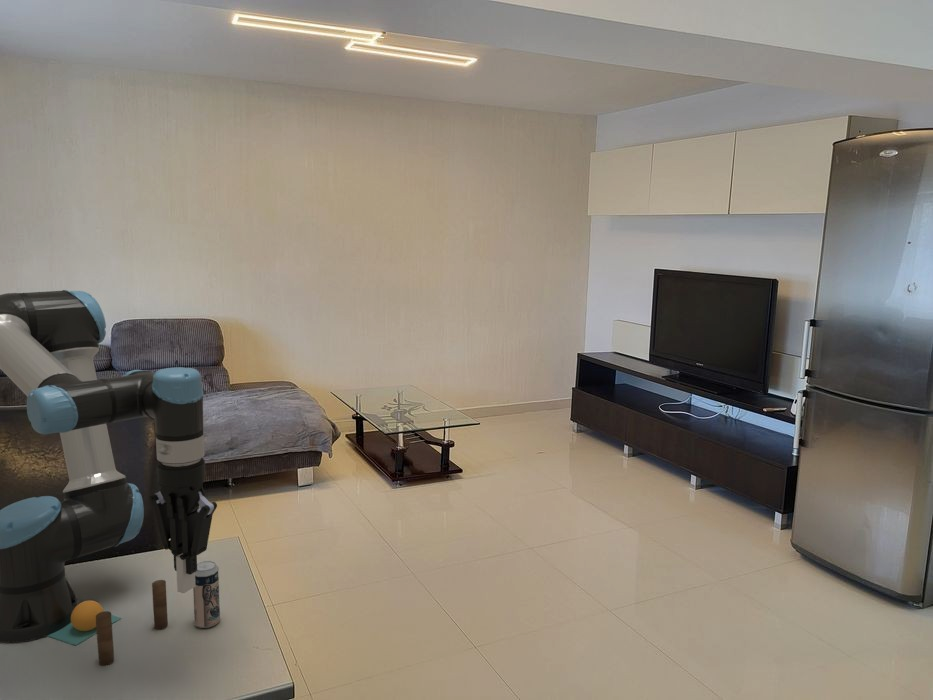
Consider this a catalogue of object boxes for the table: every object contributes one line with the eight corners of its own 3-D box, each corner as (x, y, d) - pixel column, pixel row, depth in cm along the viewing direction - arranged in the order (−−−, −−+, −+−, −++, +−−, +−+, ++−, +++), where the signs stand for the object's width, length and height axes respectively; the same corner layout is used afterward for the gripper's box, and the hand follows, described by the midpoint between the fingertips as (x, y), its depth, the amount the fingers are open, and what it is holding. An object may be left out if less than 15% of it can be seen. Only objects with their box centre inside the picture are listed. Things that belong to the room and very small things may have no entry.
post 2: (151, 627, 134) (149, 584, 132) (161, 621, 136) (158, 578, 134) (161, 630, 133) (158, 587, 131) (170, 624, 135) (168, 581, 133)
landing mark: (37, 632, 131) (37, 631, 131) (84, 607, 140) (84, 606, 140) (75, 645, 127) (75, 644, 127) (121, 618, 137) (121, 617, 136)
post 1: (95, 663, 122) (92, 616, 121) (107, 656, 125) (104, 610, 123) (105, 667, 121) (102, 619, 120) (117, 659, 124) (114, 613, 122)
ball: (85, 614, 128) (85, 640, 129) (110, 600, 133) (110, 625, 134) (63, 605, 130) (63, 631, 131) (88, 591, 135) (88, 617, 136)
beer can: (211, 631, 133) (209, 573, 131) (189, 628, 134) (186, 570, 132) (225, 618, 138) (223, 561, 136) (203, 614, 139) (201, 558, 137)
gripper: (134, 460, 117) (141, 590, 121) (194, 472, 112) (200, 607, 116) (168, 448, 123) (174, 571, 127) (227, 458, 119) (231, 587, 123)
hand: (186, 588), depth 122 cm, fingers closed
